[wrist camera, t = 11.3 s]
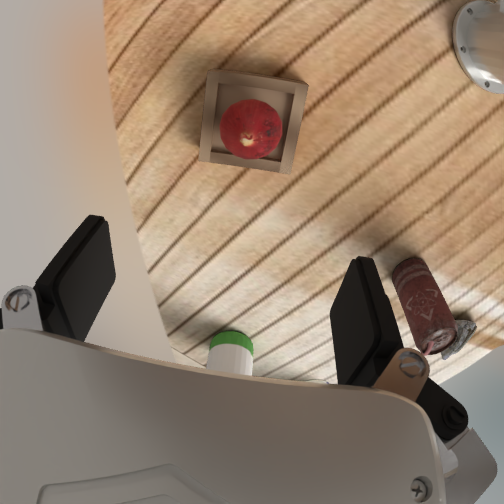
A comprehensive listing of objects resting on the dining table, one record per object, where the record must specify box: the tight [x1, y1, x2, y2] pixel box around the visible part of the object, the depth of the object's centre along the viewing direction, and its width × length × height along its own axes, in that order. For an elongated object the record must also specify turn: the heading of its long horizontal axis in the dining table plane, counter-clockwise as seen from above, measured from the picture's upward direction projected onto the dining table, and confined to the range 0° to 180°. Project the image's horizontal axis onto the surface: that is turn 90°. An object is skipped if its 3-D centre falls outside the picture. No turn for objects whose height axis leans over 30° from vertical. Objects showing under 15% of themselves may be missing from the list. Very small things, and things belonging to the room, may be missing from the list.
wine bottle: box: [206, 331, 253, 376], centre depth 44 cm, size 8×8×30 cm
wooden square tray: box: [199, 69, 309, 174], centre depth 32 cm, size 10×10×3 cm
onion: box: [219, 99, 282, 159], centre depth 28 cm, size 6×6×8 cm
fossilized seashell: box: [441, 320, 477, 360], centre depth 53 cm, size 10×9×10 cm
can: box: [392, 258, 458, 355], centre depth 39 cm, size 6×6×14 cm
